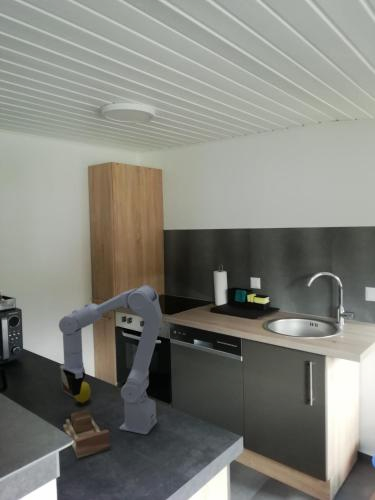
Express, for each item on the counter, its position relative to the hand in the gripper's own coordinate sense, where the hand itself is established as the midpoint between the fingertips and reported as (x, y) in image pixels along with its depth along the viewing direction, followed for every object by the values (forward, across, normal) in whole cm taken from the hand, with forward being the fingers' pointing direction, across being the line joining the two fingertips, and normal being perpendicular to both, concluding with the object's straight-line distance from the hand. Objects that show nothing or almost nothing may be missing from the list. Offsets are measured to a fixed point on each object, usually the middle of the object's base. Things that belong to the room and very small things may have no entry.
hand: (74, 392), depth 123 cm
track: (+9, +12, 0) cm, 15 cm away
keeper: (+8, +7, 0) cm, 11 cm away
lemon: (+10, -10, +5) cm, 15 cm away
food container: (+10, -21, +5) cm, 23 cm away
